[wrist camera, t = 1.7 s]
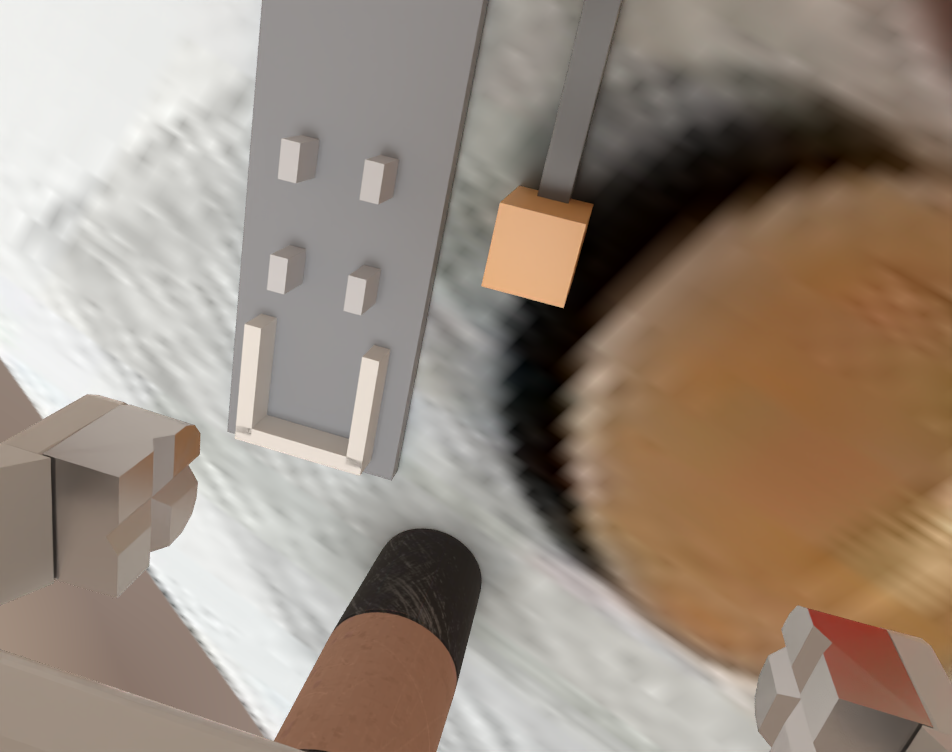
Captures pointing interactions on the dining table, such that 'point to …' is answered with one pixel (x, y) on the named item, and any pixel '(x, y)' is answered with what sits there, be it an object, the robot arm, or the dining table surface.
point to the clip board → (346, 220)
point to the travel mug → (392, 653)
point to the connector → (555, 180)
